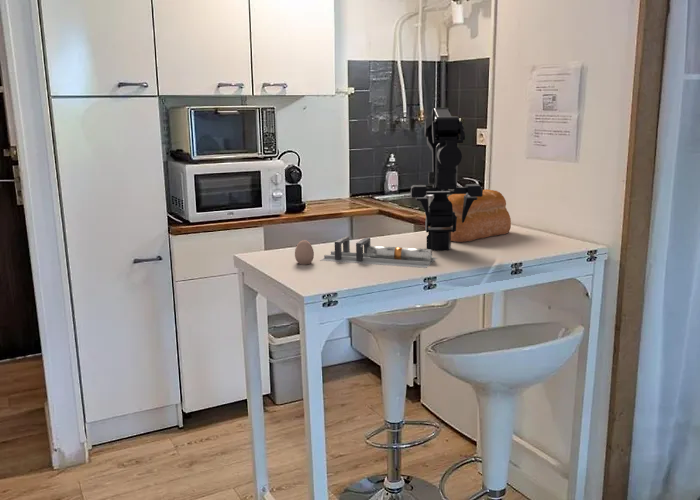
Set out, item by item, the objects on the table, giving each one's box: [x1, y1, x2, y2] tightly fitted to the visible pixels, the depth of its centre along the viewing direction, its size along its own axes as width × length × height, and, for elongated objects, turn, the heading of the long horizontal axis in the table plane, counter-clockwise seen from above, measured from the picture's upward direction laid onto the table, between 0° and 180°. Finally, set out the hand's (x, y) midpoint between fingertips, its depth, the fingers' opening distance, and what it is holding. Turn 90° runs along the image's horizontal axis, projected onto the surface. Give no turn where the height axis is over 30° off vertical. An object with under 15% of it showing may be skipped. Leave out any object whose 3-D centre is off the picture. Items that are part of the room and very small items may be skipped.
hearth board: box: [319, 250, 437, 269], centre depth 188 cm, size 31×12×2 cm, turn 69°
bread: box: [447, 189, 512, 243], centre depth 220 cm, size 14×26×15 cm, turn 127°
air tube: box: [367, 245, 433, 262], centre depth 186 cm, size 18×4×4 cm, turn 69°
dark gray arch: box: [355, 237, 371, 261], centre depth 189 cm, size 2×8×5 cm, turn 159°
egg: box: [294, 239, 315, 266], centre depth 185 cm, size 5×5×7 cm
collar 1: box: [334, 235, 351, 260], centre depth 191 cm, size 2×8×5 cm, turn 159°
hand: (445, 222), depth 179 cm, fingers open, 9 cm apart
